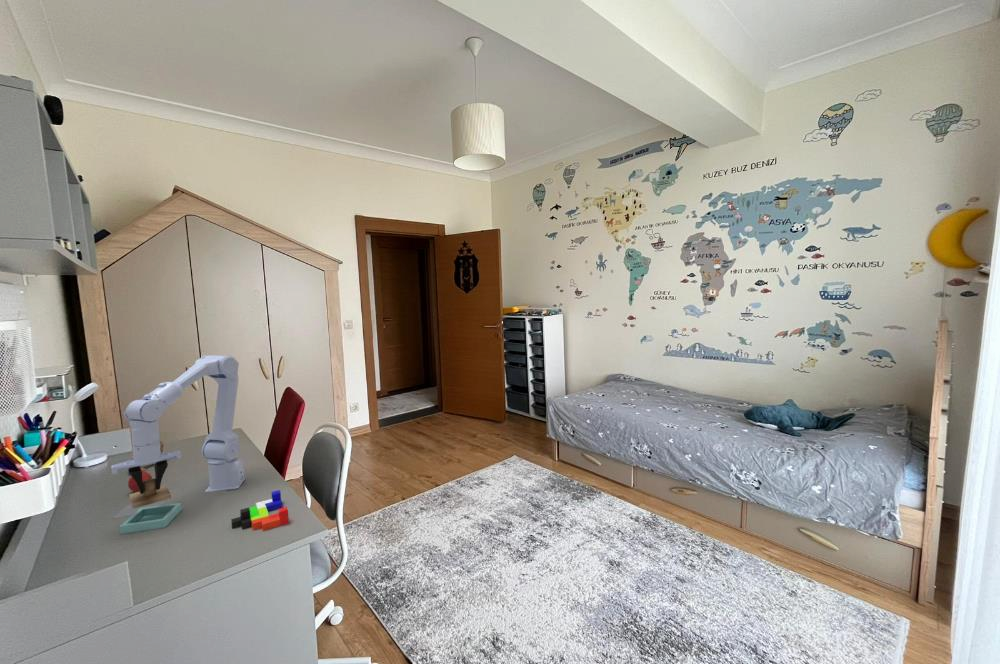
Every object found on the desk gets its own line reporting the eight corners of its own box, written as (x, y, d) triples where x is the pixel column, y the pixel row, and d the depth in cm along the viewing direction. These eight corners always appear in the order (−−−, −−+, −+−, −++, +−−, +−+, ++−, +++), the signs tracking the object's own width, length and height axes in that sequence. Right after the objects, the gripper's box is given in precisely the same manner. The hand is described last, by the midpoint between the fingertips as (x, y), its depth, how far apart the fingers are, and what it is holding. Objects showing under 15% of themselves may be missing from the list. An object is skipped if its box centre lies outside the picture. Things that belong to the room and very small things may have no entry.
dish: (182, 510, 121) (181, 502, 120) (165, 528, 111) (164, 520, 111) (140, 516, 118) (140, 508, 117) (120, 535, 108) (119, 526, 108)
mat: (169, 499, 128) (168, 498, 128) (154, 513, 119) (154, 512, 119) (130, 504, 125) (129, 503, 125) (112, 519, 116) (111, 518, 116)
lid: (165, 487, 120) (164, 471, 119) (171, 498, 114) (170, 481, 114) (129, 497, 114) (128, 480, 113) (133, 508, 109) (131, 491, 108)
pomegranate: (138, 497, 129) (136, 473, 128) (124, 496, 130) (122, 472, 130) (157, 489, 135) (155, 466, 134) (143, 488, 136) (141, 464, 135)
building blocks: (230, 517, 118) (229, 502, 117) (280, 503, 125) (279, 489, 125) (233, 541, 106) (233, 525, 105) (289, 524, 113) (288, 509, 113)
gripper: (176, 433, 121) (179, 477, 122) (108, 446, 110) (112, 495, 111) (181, 438, 116) (184, 484, 117) (111, 452, 105) (115, 503, 106)
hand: (149, 490), depth 114 cm, fingers closed on lid, 3 cm apart
